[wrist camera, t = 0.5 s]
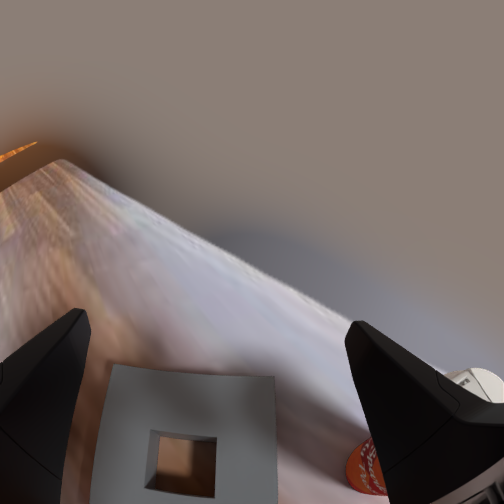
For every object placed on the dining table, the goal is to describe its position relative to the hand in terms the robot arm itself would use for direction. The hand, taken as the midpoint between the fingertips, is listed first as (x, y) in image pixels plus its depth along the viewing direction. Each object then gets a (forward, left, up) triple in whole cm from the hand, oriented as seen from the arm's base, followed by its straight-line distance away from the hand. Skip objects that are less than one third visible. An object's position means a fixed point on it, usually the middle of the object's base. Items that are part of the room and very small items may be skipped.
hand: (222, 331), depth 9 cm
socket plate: (-4, +4, -17) cm, 18 cm away
